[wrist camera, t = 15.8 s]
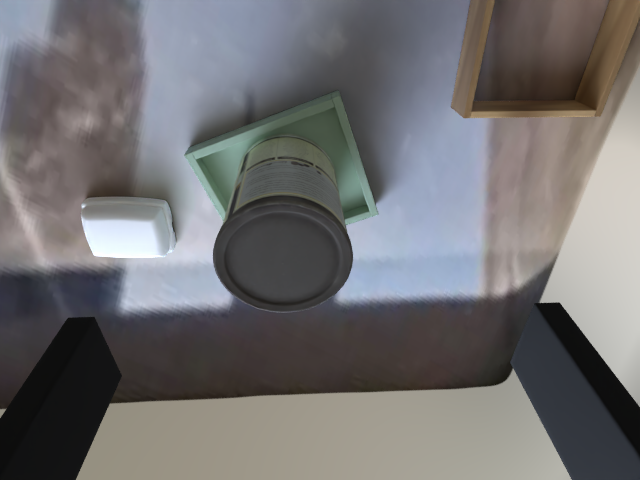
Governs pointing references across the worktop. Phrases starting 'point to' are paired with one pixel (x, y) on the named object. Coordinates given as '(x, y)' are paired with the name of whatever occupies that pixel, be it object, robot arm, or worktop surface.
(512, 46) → the worktop surface
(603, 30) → the can stand
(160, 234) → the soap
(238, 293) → the coffee can
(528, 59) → the worktop surface
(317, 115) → the tray
